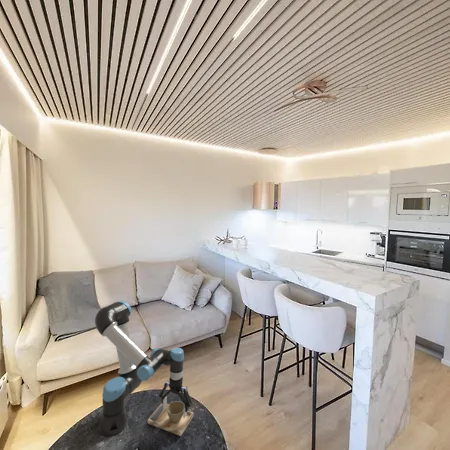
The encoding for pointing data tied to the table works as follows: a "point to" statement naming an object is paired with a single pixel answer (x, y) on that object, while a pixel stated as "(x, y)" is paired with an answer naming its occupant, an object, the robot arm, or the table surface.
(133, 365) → the robot arm
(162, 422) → the wooden tray
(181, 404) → the flower pot
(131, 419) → the table surface
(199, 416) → the table surface
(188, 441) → the table surface
